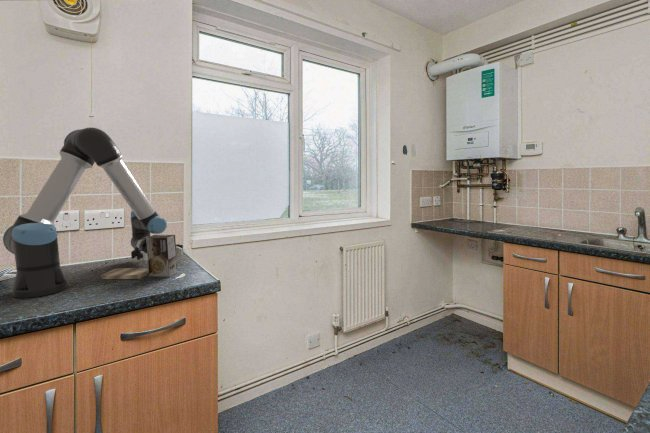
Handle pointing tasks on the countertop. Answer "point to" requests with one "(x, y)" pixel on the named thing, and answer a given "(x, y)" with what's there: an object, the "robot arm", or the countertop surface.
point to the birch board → (126, 273)
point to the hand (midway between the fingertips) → (164, 254)
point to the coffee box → (161, 255)
